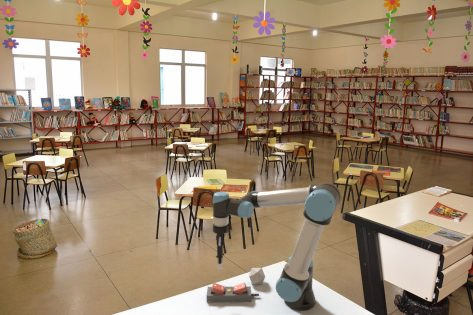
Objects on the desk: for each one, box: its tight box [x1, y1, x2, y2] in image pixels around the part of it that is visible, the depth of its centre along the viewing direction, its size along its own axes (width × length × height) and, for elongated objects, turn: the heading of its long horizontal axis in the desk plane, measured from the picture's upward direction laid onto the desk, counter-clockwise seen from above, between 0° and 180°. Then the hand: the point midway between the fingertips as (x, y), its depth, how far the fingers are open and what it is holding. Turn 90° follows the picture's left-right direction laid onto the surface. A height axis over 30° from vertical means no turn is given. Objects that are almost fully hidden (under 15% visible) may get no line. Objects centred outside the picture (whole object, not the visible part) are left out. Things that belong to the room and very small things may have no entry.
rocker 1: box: [211, 282, 226, 294], centre depth 186 cm, size 6×4×2 cm
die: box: [248, 267, 266, 285], centre depth 199 cm, size 8×9×10 cm
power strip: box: [206, 285, 260, 303], centre depth 186 cm, size 26×8×4 cm, turn 90°
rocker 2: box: [233, 282, 247, 294], centre depth 186 cm, size 6×4×2 cm
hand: (219, 268), depth 184 cm, fingers closed
